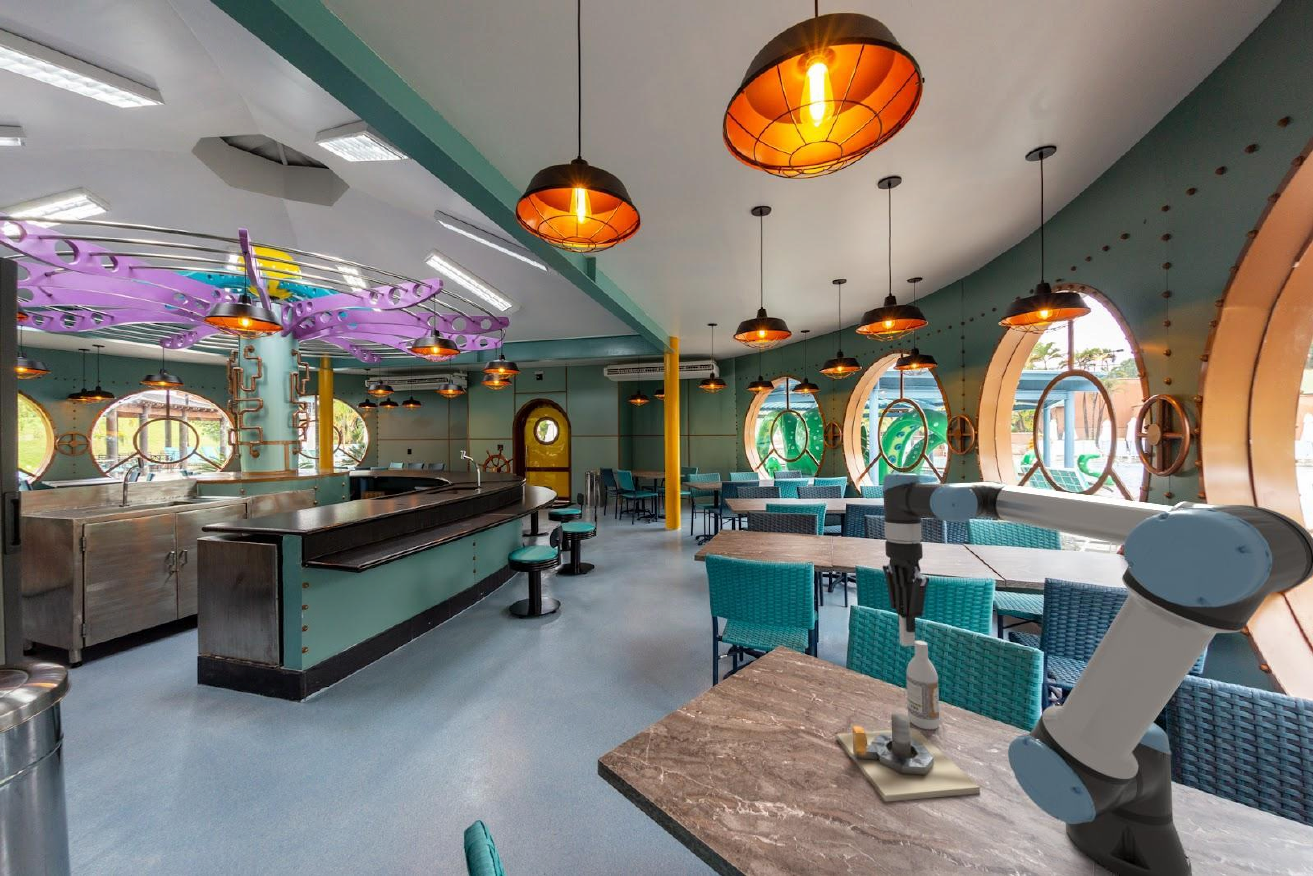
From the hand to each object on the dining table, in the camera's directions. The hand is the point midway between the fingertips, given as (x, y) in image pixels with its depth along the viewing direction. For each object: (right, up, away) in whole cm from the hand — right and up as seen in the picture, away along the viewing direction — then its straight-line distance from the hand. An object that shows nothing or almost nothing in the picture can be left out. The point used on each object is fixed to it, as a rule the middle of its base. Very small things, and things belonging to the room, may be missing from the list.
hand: (907, 644), depth 105 cm
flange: (-5, -23, -3) cm, 24 cm away
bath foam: (+10, -25, +12) cm, 30 cm away
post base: (-3, -25, -4) cm, 25 cm away
